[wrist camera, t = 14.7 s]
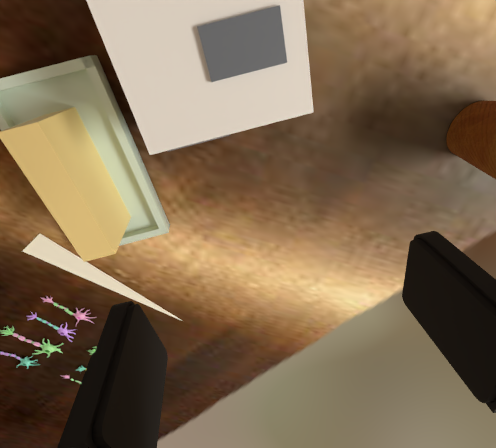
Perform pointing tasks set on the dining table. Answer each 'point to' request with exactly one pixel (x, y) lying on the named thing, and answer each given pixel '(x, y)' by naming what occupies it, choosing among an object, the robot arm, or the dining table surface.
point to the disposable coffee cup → (475, 136)
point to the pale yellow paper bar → (70, 180)
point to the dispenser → (206, 65)
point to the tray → (89, 131)
